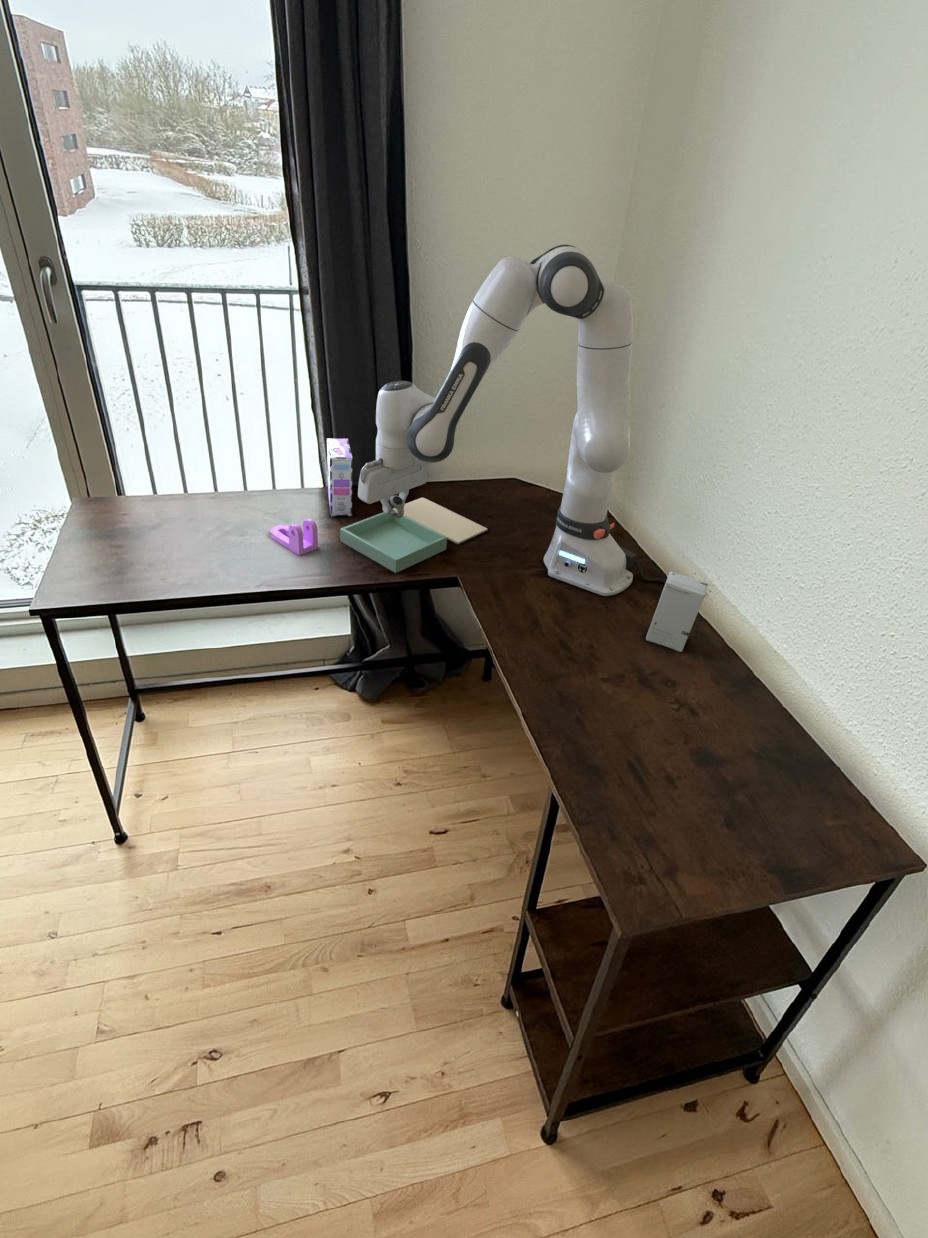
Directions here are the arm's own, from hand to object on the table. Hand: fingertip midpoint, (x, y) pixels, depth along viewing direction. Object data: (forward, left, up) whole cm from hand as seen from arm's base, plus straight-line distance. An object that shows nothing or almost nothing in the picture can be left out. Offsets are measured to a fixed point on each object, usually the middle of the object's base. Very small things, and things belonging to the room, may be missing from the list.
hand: (393, 508), depth 161 cm
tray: (-1, 0, -10) cm, 10 cm away
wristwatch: (0, 0, -2) cm, 2 cm away
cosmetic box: (-68, -17, -10) cm, 70 cm away
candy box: (+24, -4, -10) cm, 27 cm away
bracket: (+16, +18, -10) cm, 26 cm away
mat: (+1, -19, -10) cm, 21 cm away
